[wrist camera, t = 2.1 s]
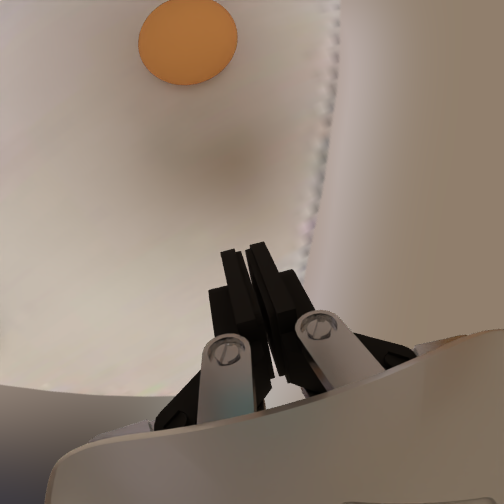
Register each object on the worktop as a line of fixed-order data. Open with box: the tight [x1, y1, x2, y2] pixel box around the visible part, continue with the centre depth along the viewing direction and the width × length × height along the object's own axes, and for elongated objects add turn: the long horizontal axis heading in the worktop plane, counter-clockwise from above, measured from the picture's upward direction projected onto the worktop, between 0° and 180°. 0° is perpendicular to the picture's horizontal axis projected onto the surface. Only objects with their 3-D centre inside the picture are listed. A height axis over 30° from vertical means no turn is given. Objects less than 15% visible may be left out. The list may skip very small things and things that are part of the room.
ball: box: [138, 0, 237, 85], centre depth 15 cm, size 6×6×6 cm
